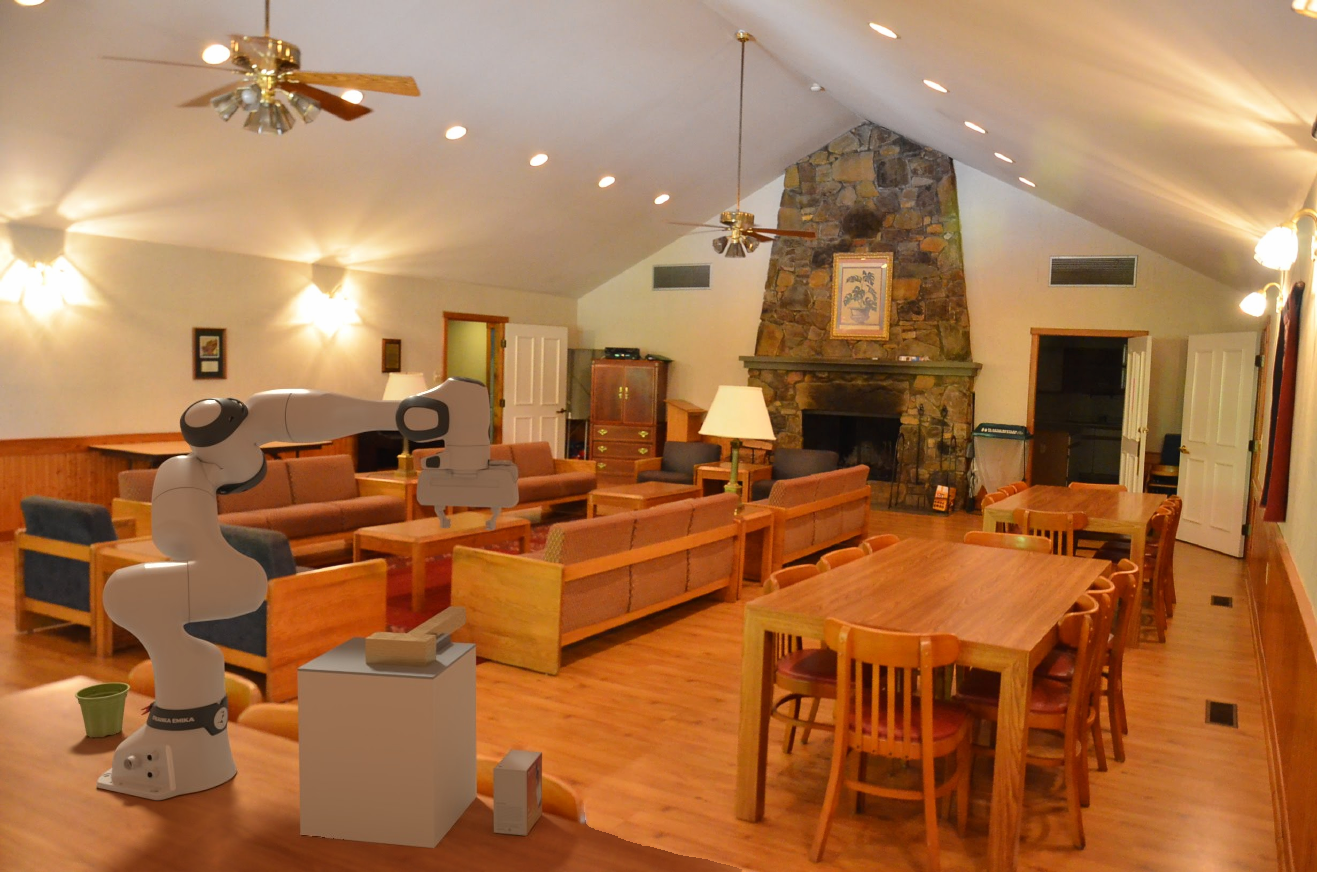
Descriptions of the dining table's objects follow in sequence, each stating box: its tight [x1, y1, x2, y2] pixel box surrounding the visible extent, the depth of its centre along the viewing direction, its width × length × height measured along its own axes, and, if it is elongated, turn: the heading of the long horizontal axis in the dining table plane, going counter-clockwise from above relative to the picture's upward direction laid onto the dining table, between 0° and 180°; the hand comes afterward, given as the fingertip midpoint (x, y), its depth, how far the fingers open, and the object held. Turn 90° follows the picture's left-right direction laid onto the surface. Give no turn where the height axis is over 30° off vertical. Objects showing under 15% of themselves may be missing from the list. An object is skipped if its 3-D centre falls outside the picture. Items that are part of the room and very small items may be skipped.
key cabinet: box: [296, 633, 478, 849], centre depth 154 cm, size 22×18×28 cm
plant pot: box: [74, 682, 131, 738], centre depth 190 cm, size 9×9×9 cm
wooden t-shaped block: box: [364, 605, 467, 667], centre depth 161 cm, size 10×26×4 cm, turn 170°
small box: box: [492, 749, 543, 836], centre depth 152 cm, size 8×6×10 cm
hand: (468, 528), depth 189 cm, fingers open, 8 cm apart
